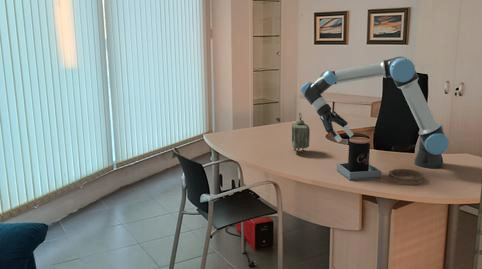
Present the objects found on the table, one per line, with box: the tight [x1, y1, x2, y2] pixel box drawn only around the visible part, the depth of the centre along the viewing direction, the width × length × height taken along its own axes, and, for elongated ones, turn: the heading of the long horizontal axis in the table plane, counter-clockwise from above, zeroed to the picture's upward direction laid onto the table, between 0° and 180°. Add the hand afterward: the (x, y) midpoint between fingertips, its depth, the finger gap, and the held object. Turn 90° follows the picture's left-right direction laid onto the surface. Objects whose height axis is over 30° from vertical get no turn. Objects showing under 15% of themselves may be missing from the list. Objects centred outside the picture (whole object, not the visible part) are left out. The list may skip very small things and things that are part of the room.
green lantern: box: [291, 111, 311, 155], centre depth 292 cm, size 14×9×25 cm, turn 1°
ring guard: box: [388, 168, 424, 186], centre depth 243 cm, size 16×16×3 cm
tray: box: [336, 162, 382, 182], centre depth 251 cm, size 17×17×4 cm
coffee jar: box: [347, 136, 371, 172], centre depth 250 cm, size 11×11×18 cm
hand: (346, 138), depth 252 cm, fingers open, 13 cm apart
